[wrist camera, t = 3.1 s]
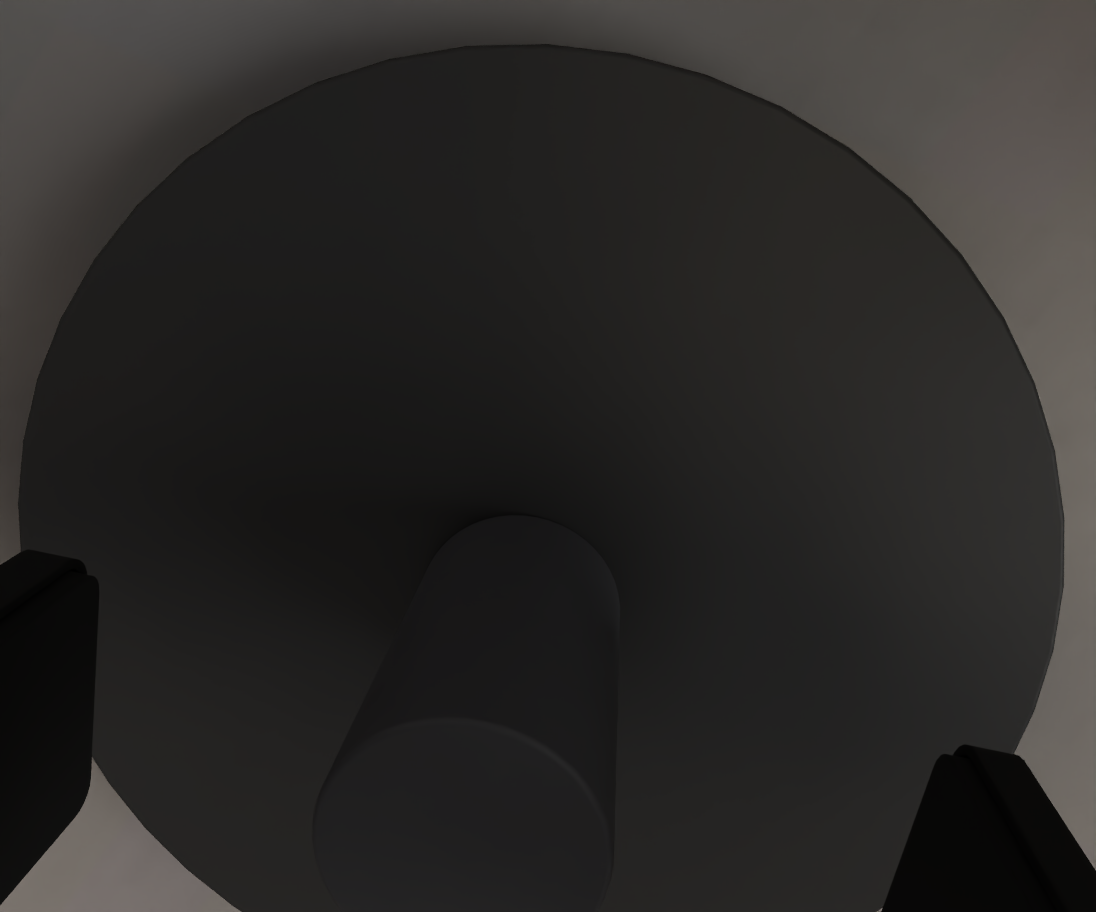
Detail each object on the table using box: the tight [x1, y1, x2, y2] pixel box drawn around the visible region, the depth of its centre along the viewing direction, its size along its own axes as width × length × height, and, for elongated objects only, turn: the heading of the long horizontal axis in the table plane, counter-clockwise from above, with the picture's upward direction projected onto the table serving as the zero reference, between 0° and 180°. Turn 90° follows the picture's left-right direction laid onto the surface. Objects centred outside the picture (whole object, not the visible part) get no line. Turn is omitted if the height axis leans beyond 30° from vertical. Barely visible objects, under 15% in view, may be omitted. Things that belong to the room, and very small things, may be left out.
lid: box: [18, 44, 1064, 912], centre depth 12 cm, size 15×15×6 cm
